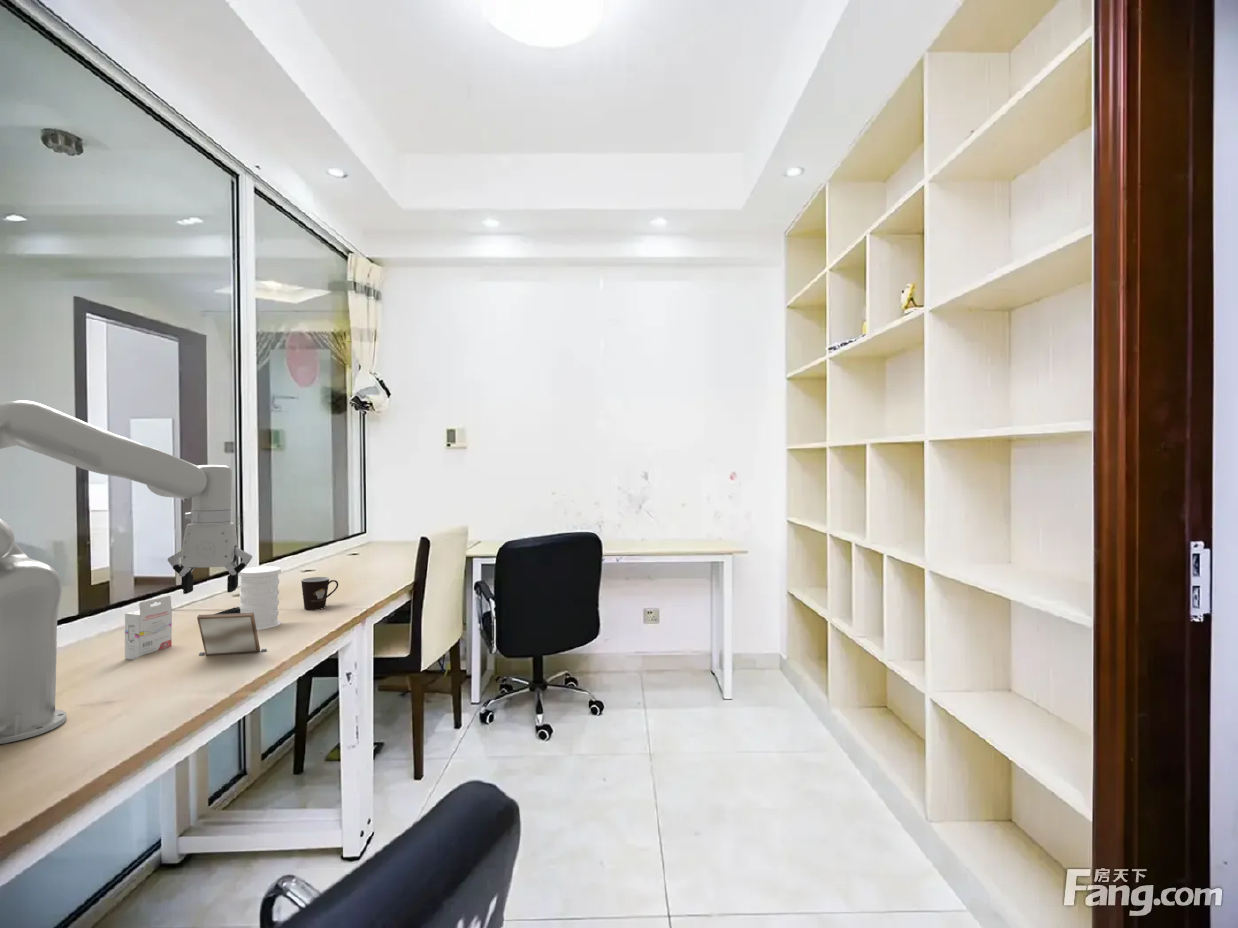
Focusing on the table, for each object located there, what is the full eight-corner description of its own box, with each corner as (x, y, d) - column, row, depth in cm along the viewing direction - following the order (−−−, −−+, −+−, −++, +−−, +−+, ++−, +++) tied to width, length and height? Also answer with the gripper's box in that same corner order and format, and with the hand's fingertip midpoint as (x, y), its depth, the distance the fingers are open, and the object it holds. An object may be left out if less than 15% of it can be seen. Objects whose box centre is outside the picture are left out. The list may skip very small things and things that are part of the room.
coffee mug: (300, 612, 190) (301, 582, 190) (300, 606, 198) (301, 578, 198) (338, 608, 196) (339, 579, 196) (337, 603, 203) (338, 575, 203)
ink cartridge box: (156, 648, 151) (158, 593, 151) (172, 650, 150) (173, 595, 150) (123, 659, 143) (124, 601, 143) (138, 660, 142) (140, 602, 142)
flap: (252, 615, 141) (253, 612, 142) (196, 617, 138) (198, 614, 139) (259, 654, 146) (260, 651, 147) (205, 657, 143) (207, 654, 144)
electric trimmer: (205, 624, 176) (205, 614, 176) (245, 610, 191) (245, 601, 191) (216, 624, 176) (216, 614, 176) (255, 611, 191) (255, 602, 191)
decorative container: (257, 636, 164) (258, 574, 164) (226, 632, 167) (227, 571, 167) (290, 625, 175) (291, 567, 175) (260, 622, 178) (261, 565, 178)
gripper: (159, 519, 126) (157, 597, 126) (247, 518, 131) (246, 594, 130) (176, 516, 133) (174, 589, 133) (259, 515, 138) (257, 587, 138)
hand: (210, 591), depth 132 cm, fingers open, 8 cm apart
